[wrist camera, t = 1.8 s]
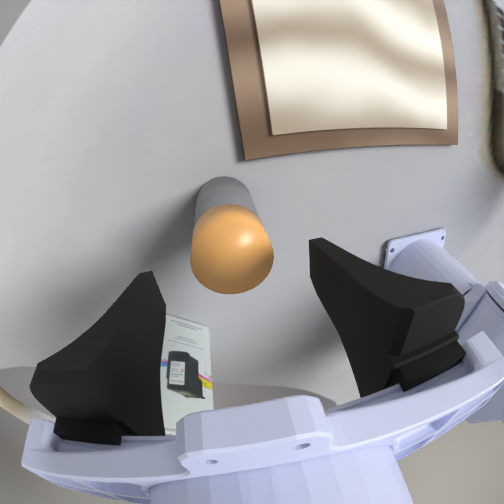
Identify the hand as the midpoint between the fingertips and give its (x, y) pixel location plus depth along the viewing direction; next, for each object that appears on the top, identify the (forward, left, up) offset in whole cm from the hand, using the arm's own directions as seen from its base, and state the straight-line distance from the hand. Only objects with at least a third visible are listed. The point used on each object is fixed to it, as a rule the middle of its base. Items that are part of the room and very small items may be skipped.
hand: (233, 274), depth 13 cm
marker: (0, 0, -9) cm, 9 cm away
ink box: (-14, +8, -9) cm, 19 cm away
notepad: (+11, -12, -9) cm, 19 cm away
